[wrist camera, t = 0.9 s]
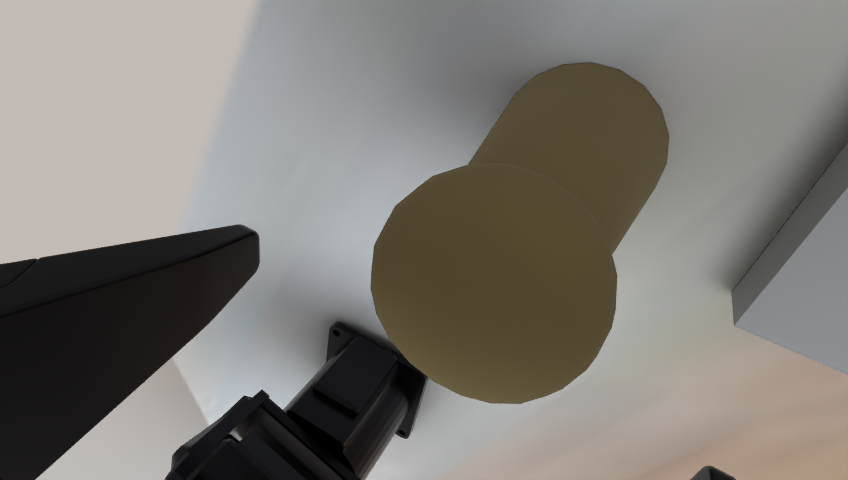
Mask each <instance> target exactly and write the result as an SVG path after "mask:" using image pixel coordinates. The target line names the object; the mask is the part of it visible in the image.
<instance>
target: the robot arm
mask: <svg viewBox="0 0 848 480" xmlns="http://www.w3.org/2000/svg"><path fill="white" fill-rule="evenodd" d="M259 263H260V246H259V235H258V233H257V232H256V231H254V230H252V229H250V228H248V227H246V226H244V225H233V226H227V227H221V228H215V229H209V230H203V231H197V232H191V233H185V234H179V235H173V236H168V237H161V238H155V239H149V240H143V241H138V242H131V243H126V244H120V245H114V246H108V247H101V248H96V249H89V250H83V251H78V252H72V253H66V254H60V255H54V256H48V257H42V258H40V259H29V260H23V261H18V262H12V263H6V264H0V480H35V479H36V478H37V477H39V476H40V475H41V474H42V473H43V472H44V471H45V470H46V469H48V468H49V467H50V466H51V465H52V464H53V463H54V462H55V461H56V460H58V459H59V458H60V457H61V456H62V455H63V454H64V453H65V452H66V451H68V450H69V449H70V448H71V447H72V446H73V445H74V444H75V443H76V442H78V441H79V440H80V439H81V438H82V437H83V436H84V435H85V434H87V433H88V432H89V431H90V430H91V429H92V428H93V427H94V426H95V425H97V424H98V423H99V422H100V421H101V420H102V419H103V418H104V417H106V416H107V415H108V414H109V413H110V412H111V411H112V410H113V409H114V408H116V407H117V406H118V405H119V404H120V403H121V402H122V401H123V400H124V399H126V398H127V397H128V396H129V395H130V394H131V393H132V392H133V391H135V390H136V389H137V388H138V387H139V386H140V385H141V384H142V383H144V382H145V381H146V380H147V379H148V378H149V377H150V376H151V375H152V374H154V372H156V371H157V370H158V369H159V368H160V367H161V366H162V365H164V364H165V363H166V362H167V361H168V360H169V359H170V358H171V357H173V356H174V355H175V354H176V353H177V352H178V351H179V350H180V349H181V348H183V347H184V346H185V345H186V344H187V343H188V342H189V341H190V340H191V339H193V338H194V337H195V336H196V335H197V334H198V333H199V332H200V331H201V330H202V329H204V328H205V327H206V326H207V325H208V324H209V323H210V322H211V321H212V320H213V319H214V318H215V317H216V315H217V314H218V313H219V312H220V311H221V310H222V309H223V308H224V307H225V306H226V304H227V303H228V302H229V301H230V300H231V299H232V298H233V297H234V296H235V295H236V293H237V292H238V291H239V290H240V289H241V288H242V287H243V286H244V285H245V284H246V283H247V281H248V280H249V279H250V278H251V277H252V276H253V275H254V274H255V272H256V271H257V269H258V267H259ZM427 381H428V377H427V376H426V375H425V374H424V373H422V372H421V371H420V370H418V369H417V368H416V367H415V366H413V365H412V364H411V363H410V362H409V361H408V360H407V359H406V358H404V357H402V356H400V355H398V354H396V353H395V352H393V351H391V350H389V349H387V348H385V347H384V346H382V345H380V344H378V343H376V342H374V341H373V340H371V339H369V338H367V337H365V336H363V335H362V334H360V333H358V332H356V331H354V330H352V329H351V328H349V327H347V326H345V325H343V324H342V323H339V322H336V323H334V324H333V325H332V326H331V327H330V330H329V340H328V350H327V359H326V364H325V365H324V366H323V367H322V368H321V369H320V370H319V371H318V372H317V374H316V375H315V376H314V377H313V378H312V379H311V380H310V381H309V382H308V383H307V384H306V385H305V387H304V388H303V389H302V390H301V391H300V392H299V393H298V394H297V395H296V396H295V397H294V398H293V399H292V401H291V402H290V403H289V404H288V405H287V406H286V407H285V408H284V409H283V410H282V409H281V408H280V407H279V406H277V405H276V404H275V403H274V402H273V401H272V400H271V399H270V398H269V397H270V396H269V395H268V394H267V393H266V392H264V391H263V390H261V391H260V392H258V393H257V394H256V395H255V396H254V397H253V398H251V397H247V396H243V397H242V398H241V399H240V400H239V401H238V402H237V403H236V404H235V405H234V406H233V407H232V408H231V409H230V410H229V411H227V412H226V413H225V414H224V415H223V416H222V417H221V418H220V419H218V420H217V421H216V422H214V423H213V424H212V425H210V426H209V427H207V428H206V429H205V430H203V431H202V432H201V433H199V434H198V435H196V436H195V437H193V438H192V439H191V440H189V441H188V442H186V443H185V444H184V445H182V446H181V447H180V448H179V449H178V450H177V451H176V452H175V453H174V454H173V456H172V464H171V471H170V472H169V474H168V475H167V477H166V478H165V480H365V479H366V478H367V476H368V474H369V473H370V471H371V470H372V468H373V467H374V465H375V464H376V462H377V461H378V459H379V457H380V456H381V454H382V453H383V451H384V450H385V448H386V447H387V445H388V444H389V442H390V440H391V439H392V437H393V436H394V434H397V435H398V436H400V437H402V438H405V439H406V438H408V437H409V436H410V434H411V432H412V430H413V427H414V423H415V420H416V417H417V413H418V410H419V407H420V404H421V400H422V397H423V394H424V390H425V387H426V384H427ZM690 480H736V479H735V478H734V477H732V476H730V475H728V474H726V473H724V472H723V471H721V470H719V469H717V468H715V467H713V466H705V467H703V468H702V469H701V470H700V471H699V472H698V473H697V474H696V475H695V476H694V477H692V478H691V479H690Z"/></svg>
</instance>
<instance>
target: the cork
mask: <svg viewBox="0 0 848 480" xmlns="http://www.w3.org/2000/svg"><path fill="white" fill-rule="evenodd" d="M668 143H669V134H668V130H667V127H666V123H665V120H664V116H663V113H662V109H661V108H660V106H659V105H658V104H657V102H656V101H655V100H654V98H653V97H652V96H651V94H650V93H649V92H648V90H647V89H646V87H645V86H644V85H642V84H641V83H639V82H638V81H636V80H635V79H633V78H632V77H630V76H628V75H627V74H625V73H624V72H622V71H621V70H619V69H615V68H611V67H607V66H603V65H599V64H595V63H578V64H565V65H560V66H558V67H556V68H553V69H551V70H548V71H546V72H543V73H541V74H538V75H536V76H535V77H534V78H533V79H532V80H530V81H529V82H528V83H527V84H526V85H525V86H523V87H522V88H521V89H520V90H519V91H517V92H516V94H515V95H514V97H513V98H512V100H511V101H510V103H509V104H508V106H507V107H506V109H505V110H504V112H503V113H502V115H501V116H500V118H499V119H498V121H497V122H496V124H495V125H494V127H493V128H492V130H491V131H490V133H489V134H488V136H487V137H486V139H485V140H484V142H483V143H482V144H481V146H480V147H479V149H478V150H477V152H476V153H475V155H474V156H473V158H472V159H471V161H470V162H469V164H468V165H466V166H462V167H459V168H456V169H453V170H450V171H447V172H444V173H441V174H438V175H435V176H432V177H431V178H429V179H428V180H427V181H425V182H424V183H423V184H422V185H420V186H419V187H418V188H417V189H415V190H414V191H413V192H412V193H411V194H409V195H408V196H407V197H406V198H404V199H403V200H402V201H401V202H400V203H398V204H397V205H396V206H395V208H394V209H393V211H392V213H391V215H390V216H389V218H388V220H387V222H386V224H385V226H384V228H383V230H382V231H381V233H380V235H379V237H378V239H377V241H376V243H375V245H374V252H373V262H372V272H371V292H372V296H373V301H374V305H375V310H376V314H377V316H378V318H379V320H380V322H381V324H382V326H383V327H384V329H385V331H386V333H387V335H388V337H389V339H390V340H391V341H392V343H393V344H394V345H395V346H396V347H397V348H398V350H399V351H400V352H401V353H402V354H403V356H404V357H405V358H406V359H407V360H408V361H409V362H410V363H411V364H412V365H413V366H415V367H416V368H417V369H418V370H420V371H421V372H422V373H424V374H425V375H426V376H427V377H429V378H430V379H431V380H432V381H434V382H436V383H438V384H440V385H442V386H444V387H446V388H448V389H450V390H452V391H453V392H455V393H457V394H459V395H462V396H465V397H469V398H473V399H477V400H480V401H484V402H488V403H507V404H521V403H524V402H527V401H531V400H534V399H538V398H541V397H544V396H547V395H550V394H552V393H554V392H556V391H559V390H561V389H563V388H564V387H565V386H567V385H568V384H569V383H570V382H572V381H573V380H574V379H576V378H577V377H578V376H579V375H581V374H582V373H583V372H585V371H586V370H587V368H588V367H589V366H590V364H591V363H592V362H593V360H594V359H595V358H596V357H597V355H598V353H599V351H600V349H601V347H602V345H603V343H604V341H605V339H606V337H607V335H608V333H609V332H610V330H611V328H612V323H613V319H614V314H615V310H616V290H617V273H616V268H615V264H614V260H613V257H612V254H613V252H614V251H615V249H616V248H617V246H618V245H619V243H620V242H621V240H622V238H623V237H624V235H625V234H626V232H627V231H628V229H629V228H630V226H631V224H632V223H633V221H634V220H635V218H636V217H637V215H638V214H639V212H640V210H641V209H642V207H643V206H644V204H645V203H646V201H647V200H648V198H649V196H650V195H651V193H652V192H653V190H654V189H655V187H656V185H657V183H658V181H659V178H660V176H661V174H662V172H663V170H664V168H665V166H666V164H667V154H668Z"/></svg>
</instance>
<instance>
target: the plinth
mask: <svg viewBox="0 0 848 480" xmlns="http://www.w3.org/2000/svg"><path fill="white" fill-rule="evenodd" d="M732 305H733V318H734V326H736V327H738V328H740V329H743V330H745V331H747V332H750V333H752V334H754V335H757V336H759V337H761V338H764V339H766V340H768V341H771V342H773V343H775V344H778V345H780V346H782V347H784V348H787V349H789V350H791V351H794V352H796V353H798V354H801V355H803V356H805V357H808V358H810V359H812V360H815V361H817V362H819V363H822V364H824V365H826V366H829V367H831V368H833V369H835V370H838V371H840V372H842V373H845V374H847V375H848V142H847V144H846V145H845V146H844V147H843V149H842V150H841V151H840V153H839V154H838V155H837V157H836V158H835V159H834V160H833V162H832V163H831V164H830V166H829V167H828V168H827V170H826V171H825V172H824V173H823V175H822V176H821V177H820V179H819V180H818V181H817V182H816V184H815V185H814V186H813V188H812V189H811V190H810V192H809V193H808V194H807V195H806V197H805V198H804V199H803V201H802V202H801V203H800V205H799V206H798V207H797V208H796V210H795V211H794V212H793V214H792V215H791V216H790V218H789V219H788V220H787V221H786V223H785V224H784V225H783V227H782V228H781V229H780V230H779V232H778V233H777V234H776V236H775V237H774V238H773V240H772V241H771V242H770V243H769V245H768V246H767V247H766V249H765V250H764V251H763V253H762V254H761V255H760V256H759V258H758V259H757V260H756V262H755V263H754V264H753V266H752V267H751V268H750V269H749V271H748V272H747V273H746V275H745V276H744V277H743V278H742V280H741V281H740V282H739V284H738V285H737V286H736V288H735V289H734V290H733V291H732Z"/></svg>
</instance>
